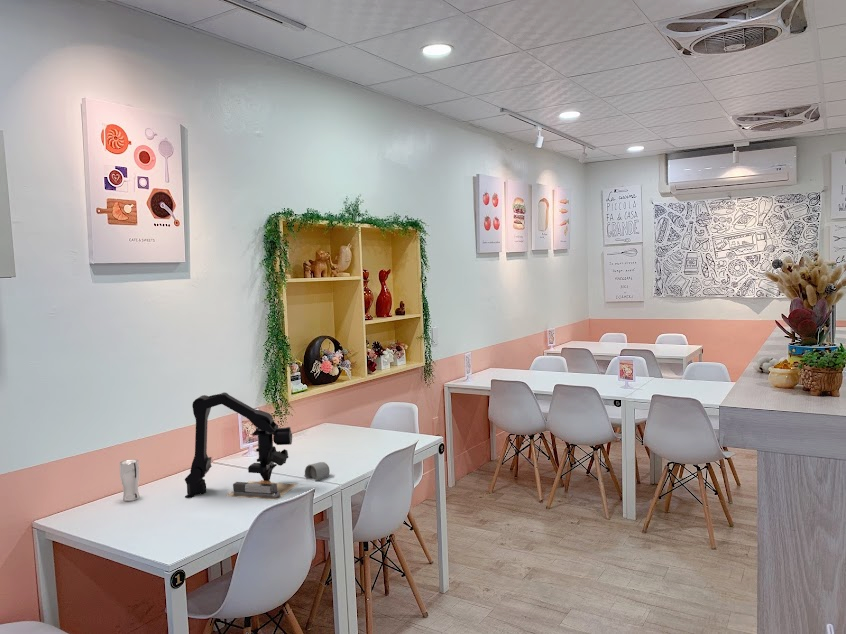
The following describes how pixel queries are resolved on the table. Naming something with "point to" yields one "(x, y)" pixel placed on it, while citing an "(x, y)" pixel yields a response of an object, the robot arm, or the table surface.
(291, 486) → the serving board
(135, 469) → the beer glass
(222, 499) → the table surface
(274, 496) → the tongs lower
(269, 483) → the tan rectangular block
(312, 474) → the ceramic mug
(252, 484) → the tongs upper
